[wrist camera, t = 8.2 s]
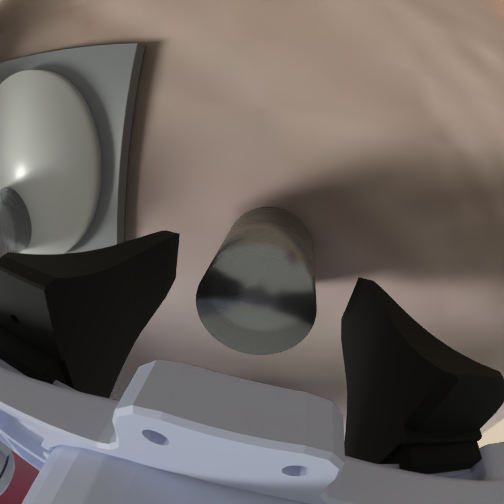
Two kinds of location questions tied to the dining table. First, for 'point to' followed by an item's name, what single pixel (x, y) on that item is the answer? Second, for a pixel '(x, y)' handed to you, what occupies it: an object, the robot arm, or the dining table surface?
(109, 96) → the scale
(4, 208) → the cylinder
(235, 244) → the cylinder
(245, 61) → the dining table surface
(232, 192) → the dining table surface
